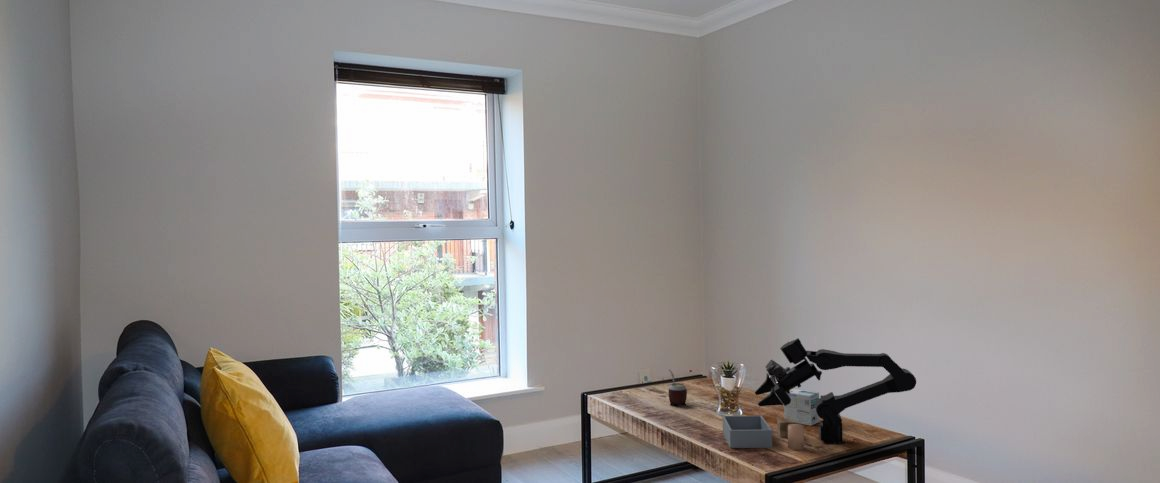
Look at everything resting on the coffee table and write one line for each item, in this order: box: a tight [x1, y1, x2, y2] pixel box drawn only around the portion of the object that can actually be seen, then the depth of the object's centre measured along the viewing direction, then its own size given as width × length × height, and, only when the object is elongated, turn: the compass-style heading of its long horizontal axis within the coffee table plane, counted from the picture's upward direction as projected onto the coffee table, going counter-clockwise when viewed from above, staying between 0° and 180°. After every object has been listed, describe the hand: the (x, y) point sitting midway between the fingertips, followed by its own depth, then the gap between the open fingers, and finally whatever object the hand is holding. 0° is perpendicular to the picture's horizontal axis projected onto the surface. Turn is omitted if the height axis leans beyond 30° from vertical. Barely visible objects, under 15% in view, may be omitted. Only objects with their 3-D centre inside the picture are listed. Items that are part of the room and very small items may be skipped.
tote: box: [722, 415, 773, 449], centre depth 250 cm, size 13×17×6 cm
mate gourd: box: [668, 369, 688, 408], centre depth 296 cm, size 8×8×15 cm
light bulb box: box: [783, 388, 821, 427], centre depth 270 cm, size 11×7×11 cm, turn 47°
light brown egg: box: [787, 423, 805, 451], centre depth 240 cm, size 5×5×7 cm
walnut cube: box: [776, 417, 796, 438], centre depth 254 cm, size 5×5×5 cm
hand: (757, 399), depth 252 cm, fingers open, 9 cm apart
